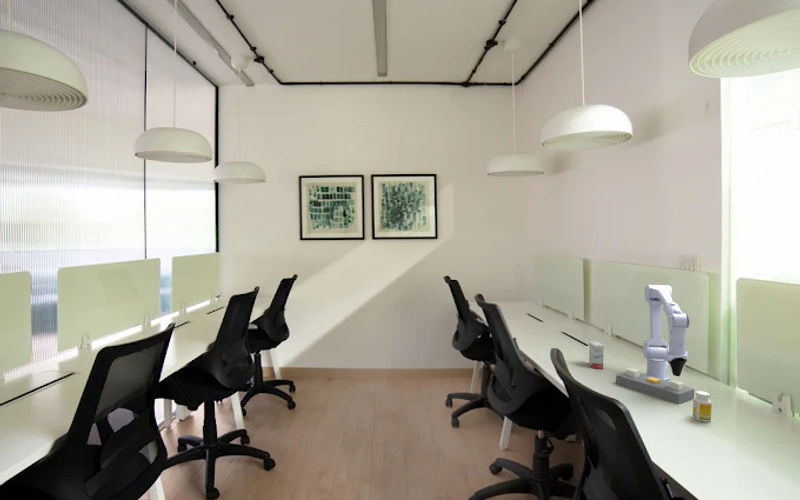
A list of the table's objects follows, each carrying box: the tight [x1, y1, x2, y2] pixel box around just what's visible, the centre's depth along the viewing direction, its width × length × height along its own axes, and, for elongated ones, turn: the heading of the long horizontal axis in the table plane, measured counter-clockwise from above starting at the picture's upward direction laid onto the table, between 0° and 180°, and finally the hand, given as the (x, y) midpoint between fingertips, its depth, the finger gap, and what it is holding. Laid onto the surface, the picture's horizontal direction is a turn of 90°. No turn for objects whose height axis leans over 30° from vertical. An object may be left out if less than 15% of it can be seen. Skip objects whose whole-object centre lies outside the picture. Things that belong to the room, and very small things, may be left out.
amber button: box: [646, 377, 661, 384], centre depth 176 cm, size 4×4×4 cm
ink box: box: [588, 341, 604, 370], centre depth 209 cm, size 9×5×12 cm, turn 168°
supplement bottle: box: [692, 390, 713, 423], centre depth 149 cm, size 5×5×10 cm
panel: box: [615, 371, 695, 405], centre depth 176 cm, size 12×26×4 cm, turn 30°
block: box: [625, 367, 641, 378], centre depth 184 cm, size 4×4×4 cm
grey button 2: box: [668, 379, 685, 391], centre depth 169 cm, size 4×4×4 cm
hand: (676, 375), depth 168 cm, fingers closed
